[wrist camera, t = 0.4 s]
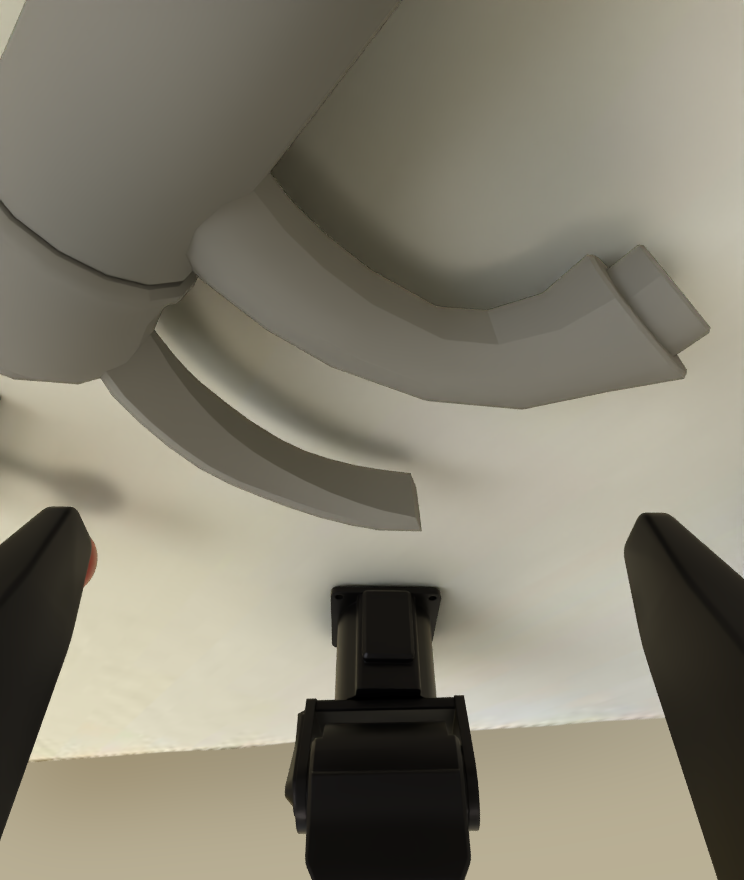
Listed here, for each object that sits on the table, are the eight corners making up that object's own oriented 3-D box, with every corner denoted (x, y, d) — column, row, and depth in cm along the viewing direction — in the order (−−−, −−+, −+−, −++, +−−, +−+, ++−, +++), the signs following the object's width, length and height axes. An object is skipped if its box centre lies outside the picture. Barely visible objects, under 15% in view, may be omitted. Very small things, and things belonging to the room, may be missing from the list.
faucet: (957, 67, 18) (377, 498, 31) (560, -1108, 8) (-59, 245, 21) (1183, 141, 13) (384, 616, 26) (891, -2577, 3) (-182, 361, 16)
